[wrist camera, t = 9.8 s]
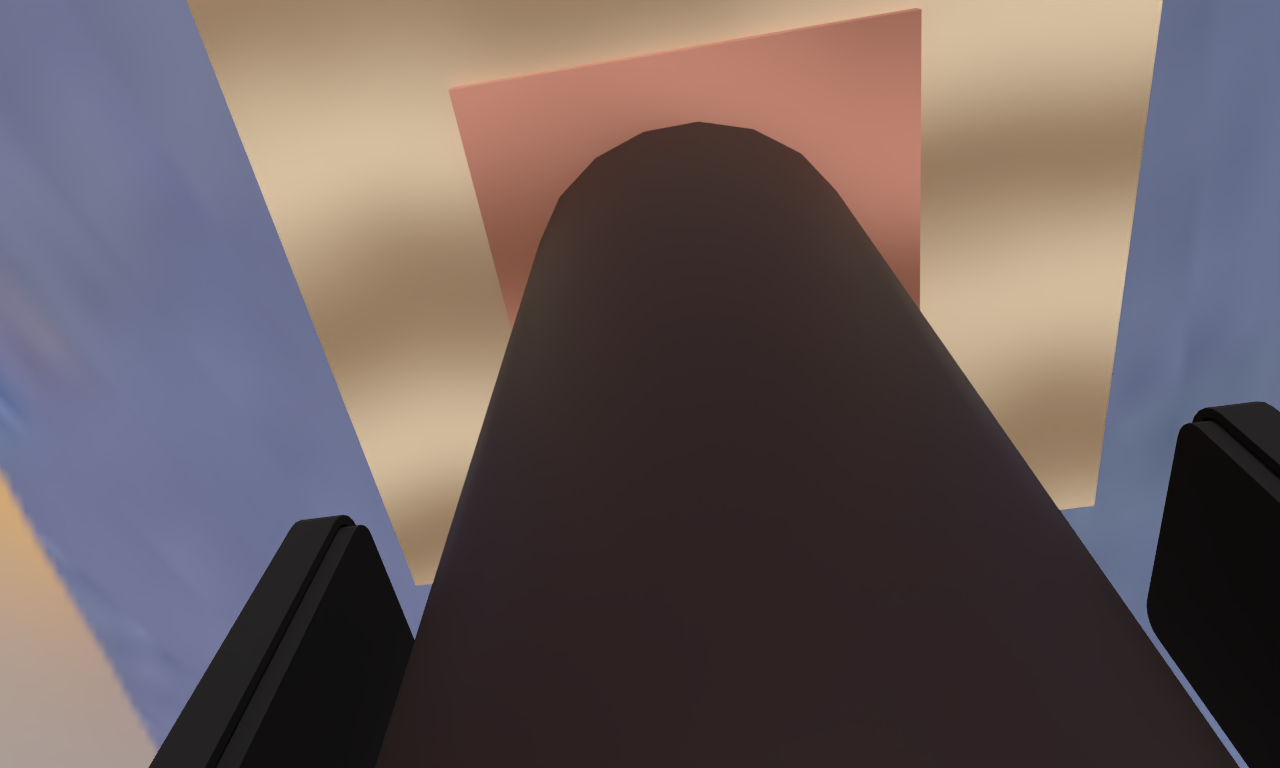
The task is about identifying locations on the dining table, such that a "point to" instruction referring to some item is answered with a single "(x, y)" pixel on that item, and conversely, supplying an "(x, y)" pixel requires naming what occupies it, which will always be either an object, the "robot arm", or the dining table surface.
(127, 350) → the dining table surface
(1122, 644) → the vinegar
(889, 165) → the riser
